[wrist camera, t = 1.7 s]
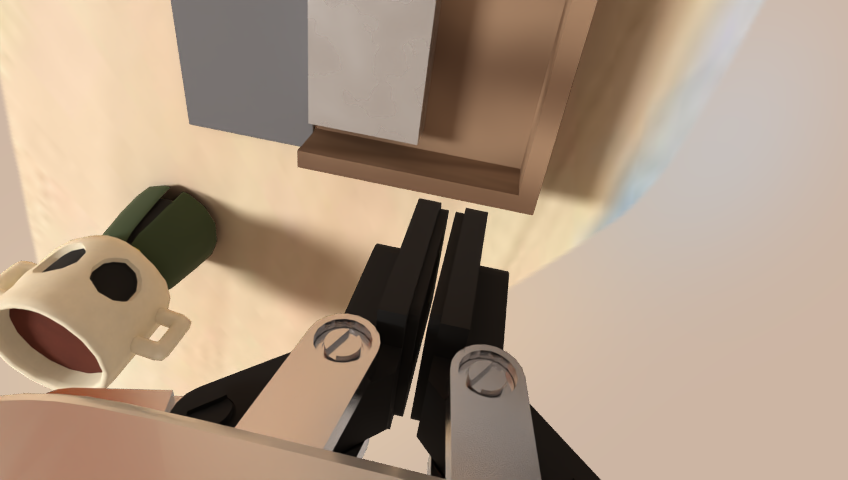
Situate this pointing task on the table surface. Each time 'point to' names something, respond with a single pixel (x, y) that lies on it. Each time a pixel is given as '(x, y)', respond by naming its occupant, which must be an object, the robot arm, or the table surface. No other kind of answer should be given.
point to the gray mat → (246, 66)
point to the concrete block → (371, 65)
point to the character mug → (104, 294)
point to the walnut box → (477, 107)
